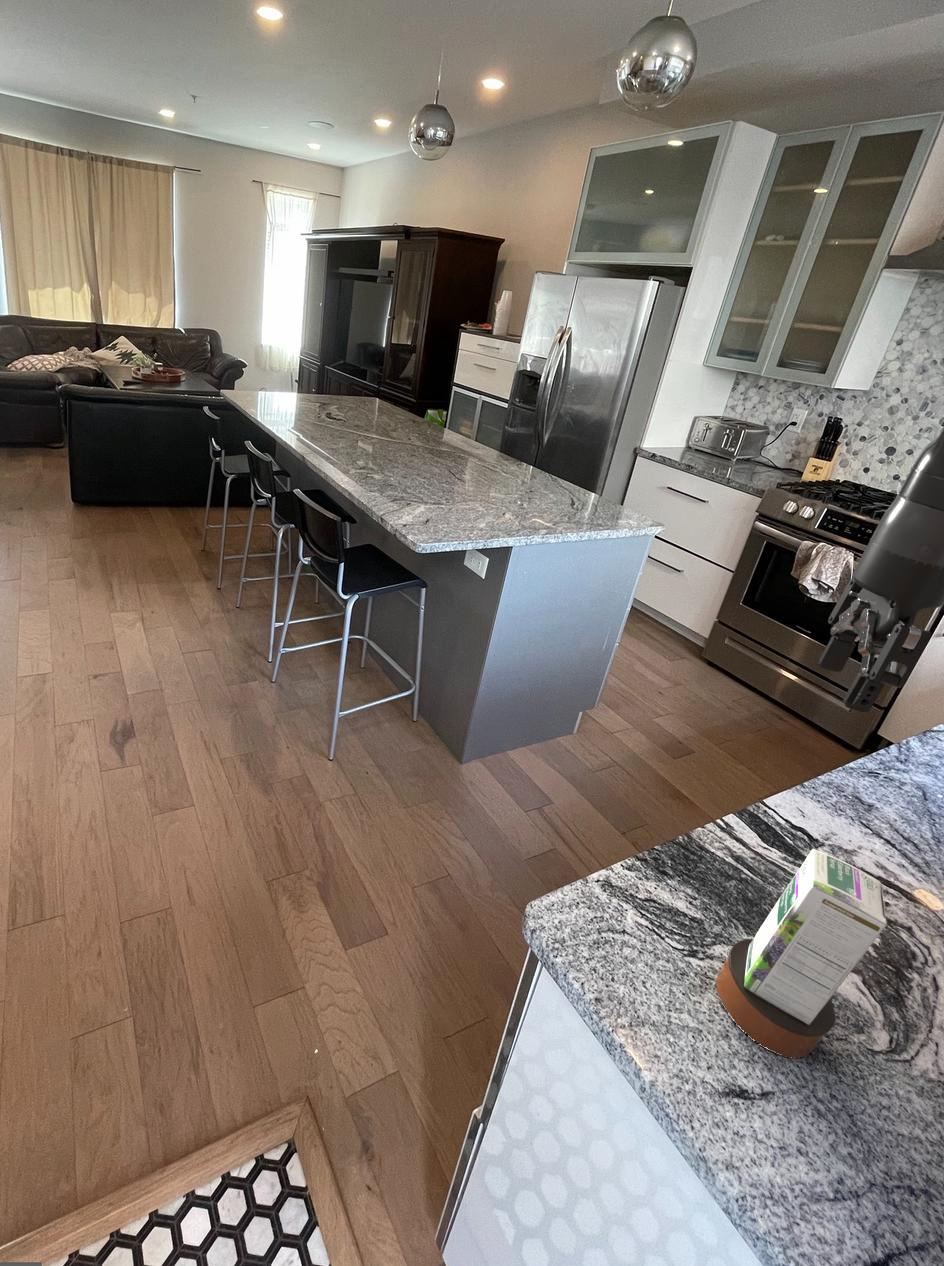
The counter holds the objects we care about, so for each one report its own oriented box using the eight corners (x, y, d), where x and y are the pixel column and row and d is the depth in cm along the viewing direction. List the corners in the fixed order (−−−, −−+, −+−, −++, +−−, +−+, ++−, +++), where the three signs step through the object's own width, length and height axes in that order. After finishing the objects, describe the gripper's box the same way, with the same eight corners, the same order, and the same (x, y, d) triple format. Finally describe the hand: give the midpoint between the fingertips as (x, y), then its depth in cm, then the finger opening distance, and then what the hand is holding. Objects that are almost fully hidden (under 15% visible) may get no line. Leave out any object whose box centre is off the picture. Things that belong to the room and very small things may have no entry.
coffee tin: (743, 949, 69) (758, 925, 67) (833, 1030, 62) (852, 1005, 60) (696, 987, 64) (711, 962, 62) (788, 1079, 57) (807, 1054, 56)
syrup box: (746, 944, 65) (809, 843, 59) (812, 981, 62) (884, 879, 56) (742, 988, 60) (809, 883, 54) (812, 1029, 58) (891, 924, 52)
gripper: (1004, 586, 54) (908, 736, 60) (930, 537, 66) (857, 666, 73) (904, 563, 55) (821, 711, 62) (850, 520, 68) (786, 647, 75)
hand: (840, 687), depth 68 cm, fingers open, 8 cm apart
